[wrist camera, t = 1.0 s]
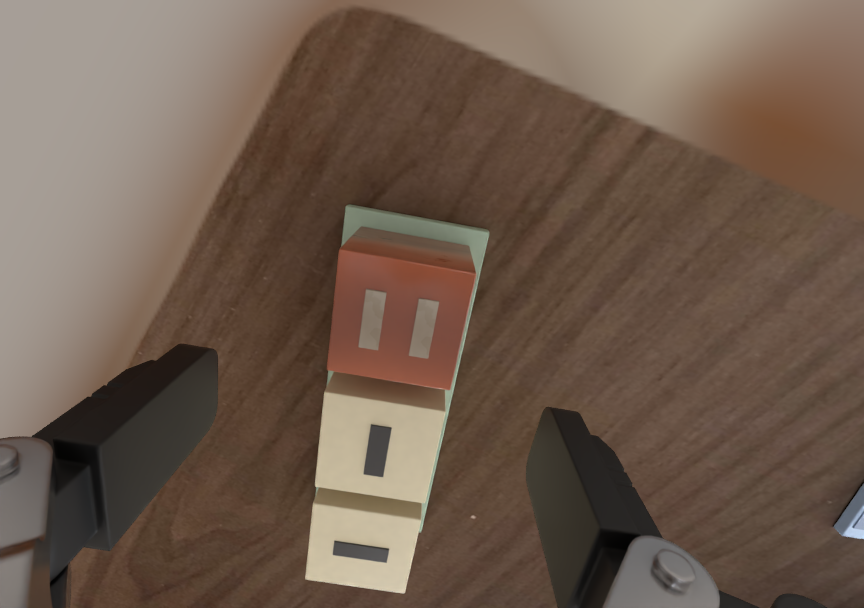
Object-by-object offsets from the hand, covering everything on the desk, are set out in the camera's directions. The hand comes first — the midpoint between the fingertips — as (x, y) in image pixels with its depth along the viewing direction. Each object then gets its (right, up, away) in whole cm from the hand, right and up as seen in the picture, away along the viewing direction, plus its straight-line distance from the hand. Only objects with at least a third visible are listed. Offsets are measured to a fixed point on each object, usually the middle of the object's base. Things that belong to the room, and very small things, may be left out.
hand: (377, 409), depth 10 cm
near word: (-1, -2, +11) cm, 11 cm away
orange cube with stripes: (0, +3, +8) cm, 9 cm away
